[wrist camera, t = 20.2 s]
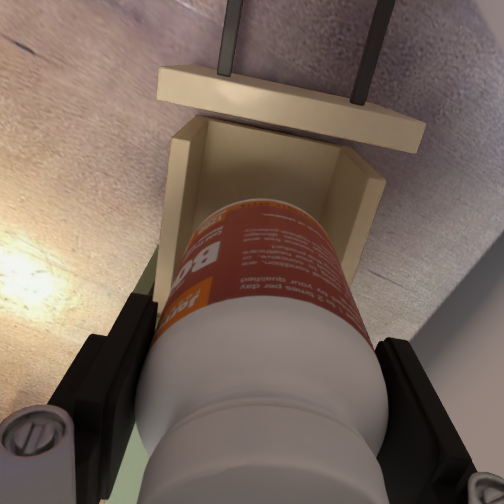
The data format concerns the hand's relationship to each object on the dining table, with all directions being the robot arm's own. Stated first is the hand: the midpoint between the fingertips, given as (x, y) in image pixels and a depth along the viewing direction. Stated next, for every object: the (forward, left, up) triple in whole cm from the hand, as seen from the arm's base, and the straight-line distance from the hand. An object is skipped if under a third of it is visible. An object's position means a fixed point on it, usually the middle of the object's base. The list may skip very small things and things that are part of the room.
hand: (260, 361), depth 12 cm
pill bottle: (0, 0, -6) cm, 6 cm away
